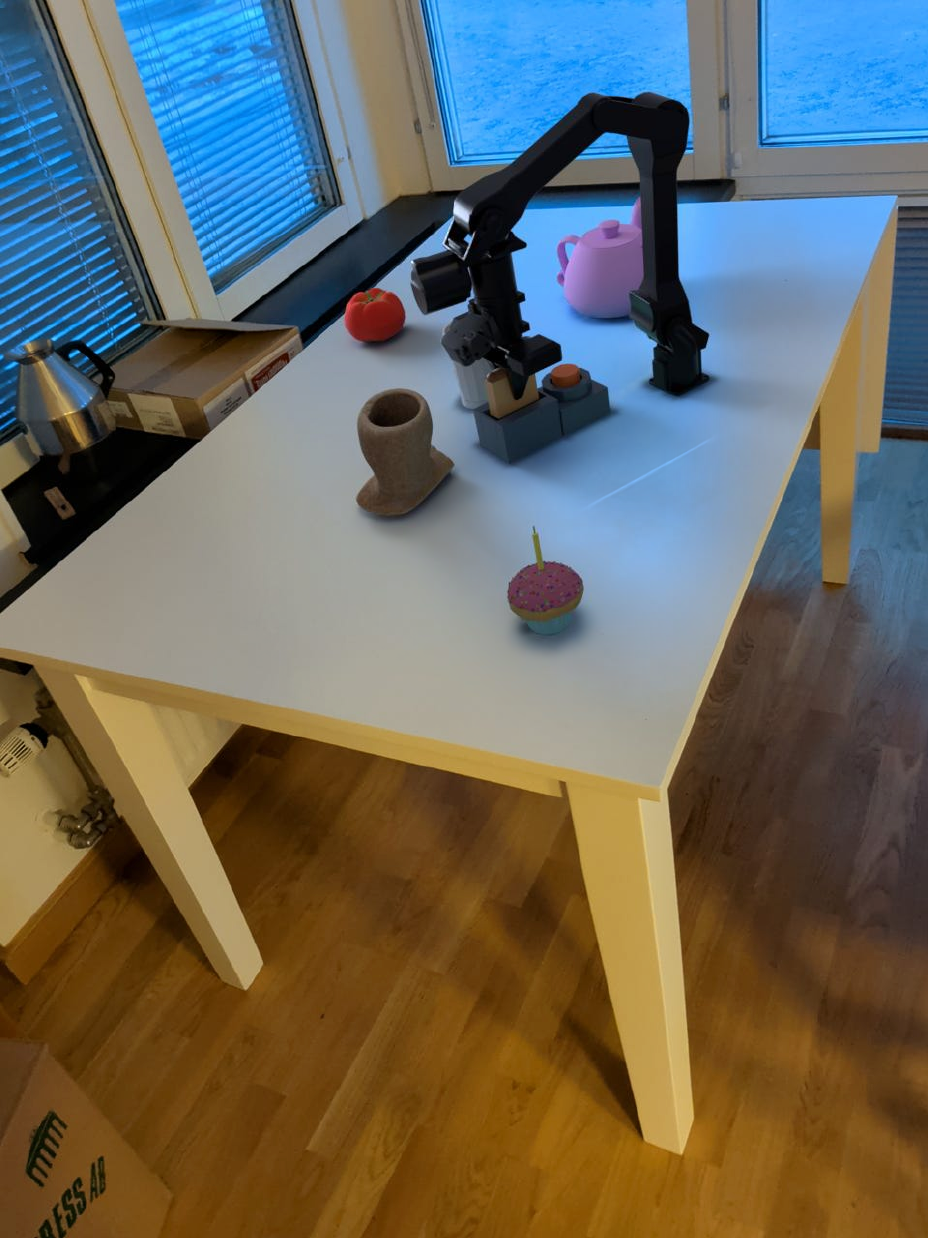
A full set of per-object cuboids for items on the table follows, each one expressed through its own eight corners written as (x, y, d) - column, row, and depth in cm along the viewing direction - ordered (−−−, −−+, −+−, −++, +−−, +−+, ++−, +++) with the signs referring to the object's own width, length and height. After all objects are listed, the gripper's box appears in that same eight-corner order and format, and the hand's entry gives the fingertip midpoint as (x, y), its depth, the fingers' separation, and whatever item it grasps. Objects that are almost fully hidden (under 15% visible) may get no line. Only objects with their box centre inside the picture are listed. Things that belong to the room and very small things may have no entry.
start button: (568, 371, 153) (567, 360, 152) (585, 379, 150) (584, 368, 149) (546, 382, 151) (545, 371, 150) (563, 391, 149) (562, 379, 148)
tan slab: (530, 394, 150) (524, 352, 146) (539, 398, 148) (532, 356, 144) (490, 414, 147) (482, 372, 143) (498, 419, 146) (490, 376, 142)
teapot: (707, 273, 182) (704, 192, 174) (655, 331, 170) (649, 246, 161) (593, 266, 194) (585, 190, 185) (536, 320, 181) (524, 240, 172)
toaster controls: (576, 395, 158) (572, 359, 155) (610, 412, 153) (606, 375, 149) (531, 418, 156) (526, 381, 152) (564, 436, 150) (559, 399, 146)
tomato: (397, 348, 182) (387, 307, 178) (340, 349, 186) (329, 310, 182) (418, 320, 190) (409, 280, 185) (363, 322, 194) (353, 283, 189)
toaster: (532, 419, 155) (526, 382, 152) (562, 436, 150) (557, 398, 146) (480, 445, 152) (472, 409, 149) (509, 464, 147) (502, 426, 143)
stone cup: (416, 530, 139) (390, 431, 129) (347, 513, 145) (318, 417, 136) (478, 469, 148) (459, 372, 138) (411, 455, 154) (388, 362, 144)
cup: (503, 410, 159) (490, 336, 151) (452, 413, 161) (437, 341, 154) (512, 384, 165) (499, 312, 157) (462, 387, 167) (448, 316, 159)
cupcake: (509, 605, 123) (492, 522, 116) (580, 591, 123) (568, 506, 115) (518, 653, 117) (501, 568, 109) (594, 638, 116) (582, 552, 109)
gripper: (407, 294, 141) (430, 398, 151) (483, 332, 128) (504, 443, 138) (475, 264, 145) (494, 367, 154) (556, 298, 131) (571, 408, 141)
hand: (513, 396), depth 147 cm, fingers closed on tan slab, 2 cm apart
